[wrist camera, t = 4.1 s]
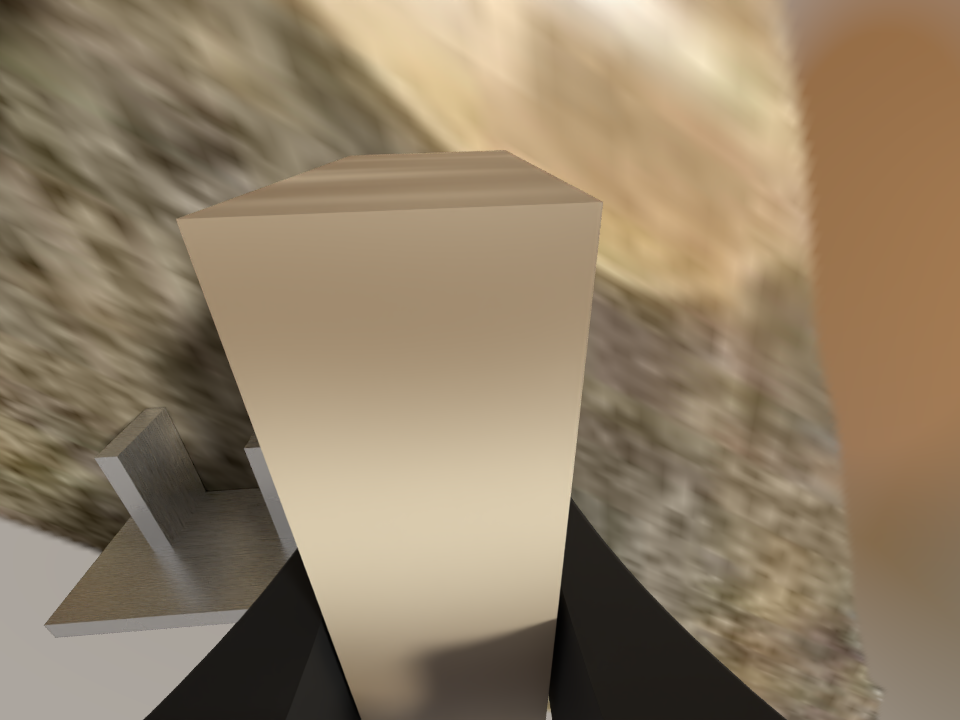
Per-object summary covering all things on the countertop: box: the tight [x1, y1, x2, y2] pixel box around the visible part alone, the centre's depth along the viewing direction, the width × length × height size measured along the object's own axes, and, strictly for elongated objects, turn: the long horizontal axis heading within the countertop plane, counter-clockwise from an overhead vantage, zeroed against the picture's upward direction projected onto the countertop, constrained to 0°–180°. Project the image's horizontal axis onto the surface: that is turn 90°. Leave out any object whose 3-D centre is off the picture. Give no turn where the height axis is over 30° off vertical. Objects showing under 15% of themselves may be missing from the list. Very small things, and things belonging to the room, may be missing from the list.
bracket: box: [44, 408, 297, 637], centre depth 17 cm, size 6×10×6 cm, turn 92°
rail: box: [176, 150, 603, 720], centre depth 9 cm, size 14×3×6 cm, turn 2°
